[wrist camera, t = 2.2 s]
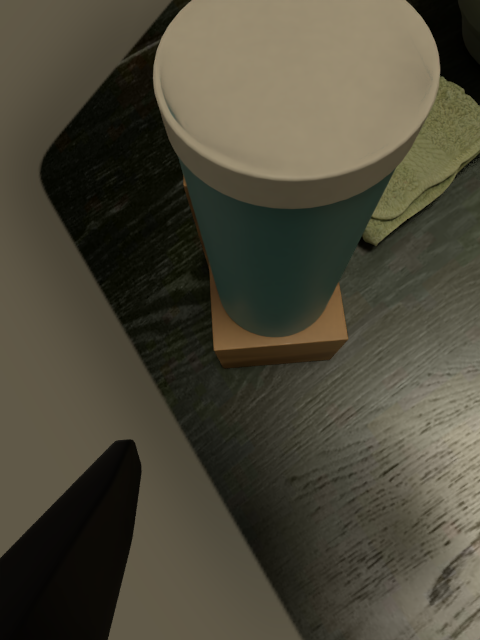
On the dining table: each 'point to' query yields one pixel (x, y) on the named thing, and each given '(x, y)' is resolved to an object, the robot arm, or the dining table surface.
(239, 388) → the dining table surface
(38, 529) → the robot arm
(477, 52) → the bowl
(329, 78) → the teal cup
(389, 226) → the washcloth
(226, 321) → the stepped wooden block
